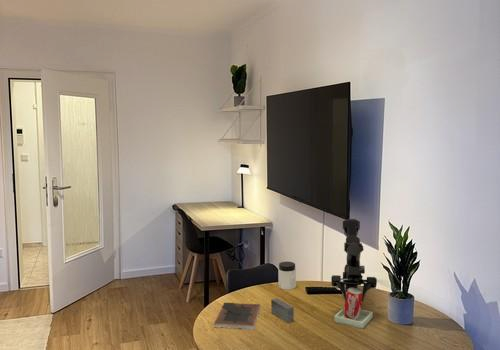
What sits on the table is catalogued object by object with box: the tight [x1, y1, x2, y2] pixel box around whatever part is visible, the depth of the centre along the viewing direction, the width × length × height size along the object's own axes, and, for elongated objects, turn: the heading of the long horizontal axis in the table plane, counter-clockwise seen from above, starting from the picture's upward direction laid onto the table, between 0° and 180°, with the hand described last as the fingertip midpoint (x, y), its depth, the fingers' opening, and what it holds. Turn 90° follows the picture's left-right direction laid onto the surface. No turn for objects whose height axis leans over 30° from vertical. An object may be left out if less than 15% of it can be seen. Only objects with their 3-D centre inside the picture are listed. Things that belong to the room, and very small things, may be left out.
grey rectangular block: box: [270, 297, 295, 323], centre depth 197 cm, size 3×12×6 cm, turn 32°
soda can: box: [343, 288, 363, 320], centre depth 193 cm, size 7×7×12 cm
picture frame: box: [213, 302, 261, 331], centre depth 198 cm, size 16×2×22 cm
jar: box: [277, 261, 297, 291], centre depth 231 cm, size 9×8×12 cm
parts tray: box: [333, 307, 374, 330], centre depth 193 cm, size 12×12×2 cm
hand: (354, 300), depth 191 cm, fingers closed on soda can, 6 cm apart
